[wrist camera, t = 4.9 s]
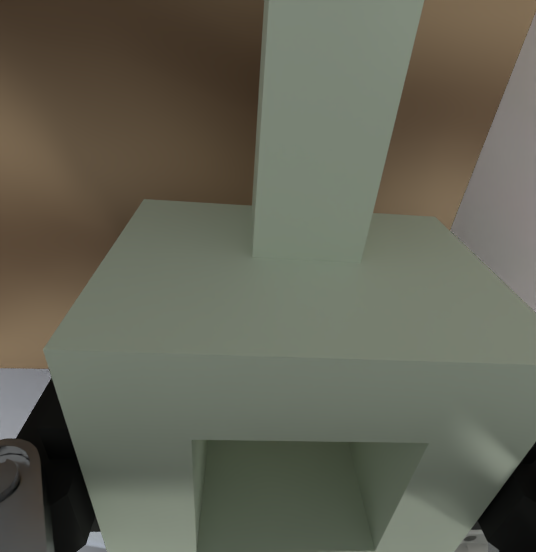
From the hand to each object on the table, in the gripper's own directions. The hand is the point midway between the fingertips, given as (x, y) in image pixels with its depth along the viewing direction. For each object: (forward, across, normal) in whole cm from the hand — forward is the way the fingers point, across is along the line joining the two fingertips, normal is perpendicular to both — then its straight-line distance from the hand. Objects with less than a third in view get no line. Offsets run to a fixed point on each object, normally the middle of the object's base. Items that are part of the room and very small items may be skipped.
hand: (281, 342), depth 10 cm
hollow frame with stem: (+1, 0, -3) cm, 4 cm away
